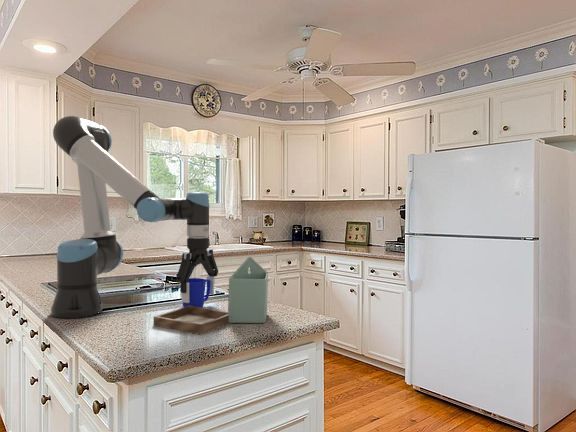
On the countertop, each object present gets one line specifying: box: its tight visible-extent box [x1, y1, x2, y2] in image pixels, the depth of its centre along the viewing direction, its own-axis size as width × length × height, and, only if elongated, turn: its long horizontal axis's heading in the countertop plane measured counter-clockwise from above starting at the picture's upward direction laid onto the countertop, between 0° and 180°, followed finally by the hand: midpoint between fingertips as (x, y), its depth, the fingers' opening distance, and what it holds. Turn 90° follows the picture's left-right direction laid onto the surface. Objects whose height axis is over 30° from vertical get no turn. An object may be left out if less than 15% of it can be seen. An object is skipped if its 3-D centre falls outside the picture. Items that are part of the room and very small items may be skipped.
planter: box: [227, 255, 269, 324], centre depth 138 cm, size 16×8×20 cm, turn 137°
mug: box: [182, 277, 211, 308], centre depth 152 cm, size 8×12×10 cm
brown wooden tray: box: [152, 306, 230, 335], centre depth 134 cm, size 18×16×3 cm
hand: (198, 298), depth 152 cm, fingers open, 13 cm apart
